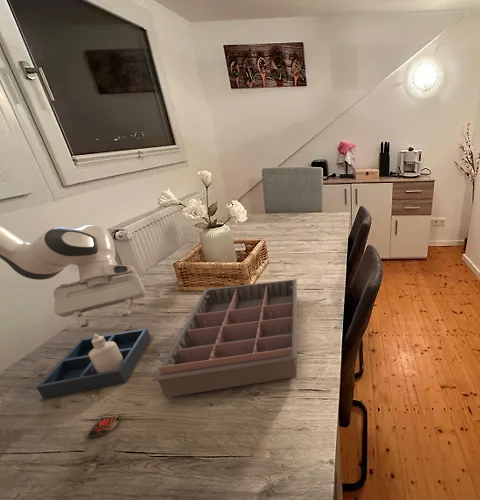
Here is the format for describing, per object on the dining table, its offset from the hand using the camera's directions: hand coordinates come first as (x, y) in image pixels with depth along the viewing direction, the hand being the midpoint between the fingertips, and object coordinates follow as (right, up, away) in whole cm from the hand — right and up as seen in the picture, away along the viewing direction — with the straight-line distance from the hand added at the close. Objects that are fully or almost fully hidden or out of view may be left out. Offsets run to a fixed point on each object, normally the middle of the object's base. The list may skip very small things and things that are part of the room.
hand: (105, 320), depth 79 cm
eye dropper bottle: (+6, -12, -4) cm, 14 cm away
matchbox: (+16, -19, -18) cm, 30 cm away
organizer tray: (+38, -7, +7) cm, 39 cm away
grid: (+1, -12, -2) cm, 12 cm away
